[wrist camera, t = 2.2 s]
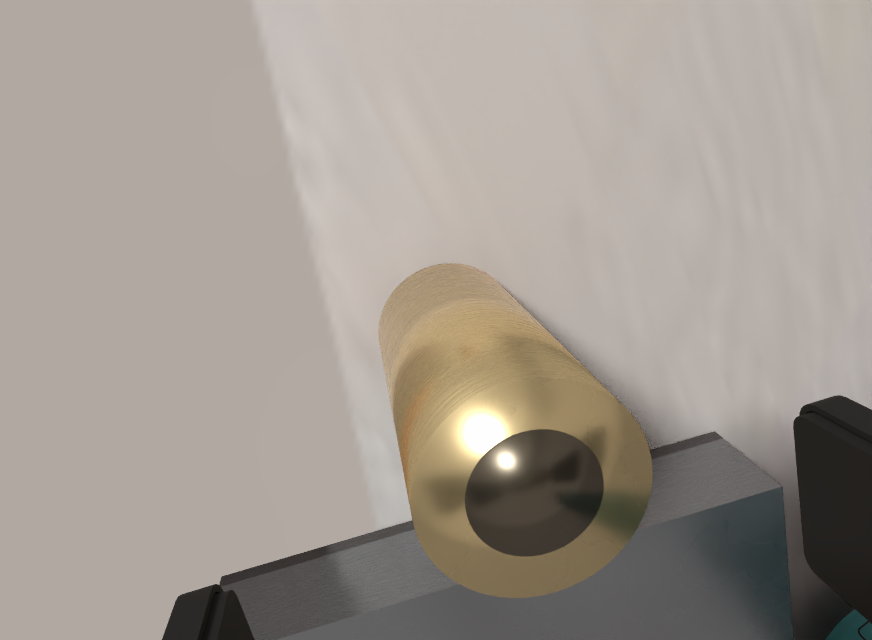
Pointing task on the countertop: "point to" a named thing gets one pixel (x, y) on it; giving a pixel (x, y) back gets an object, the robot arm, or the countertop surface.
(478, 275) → the bushing
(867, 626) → the beverage bottle
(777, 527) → the jig
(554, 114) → the countertop surface
